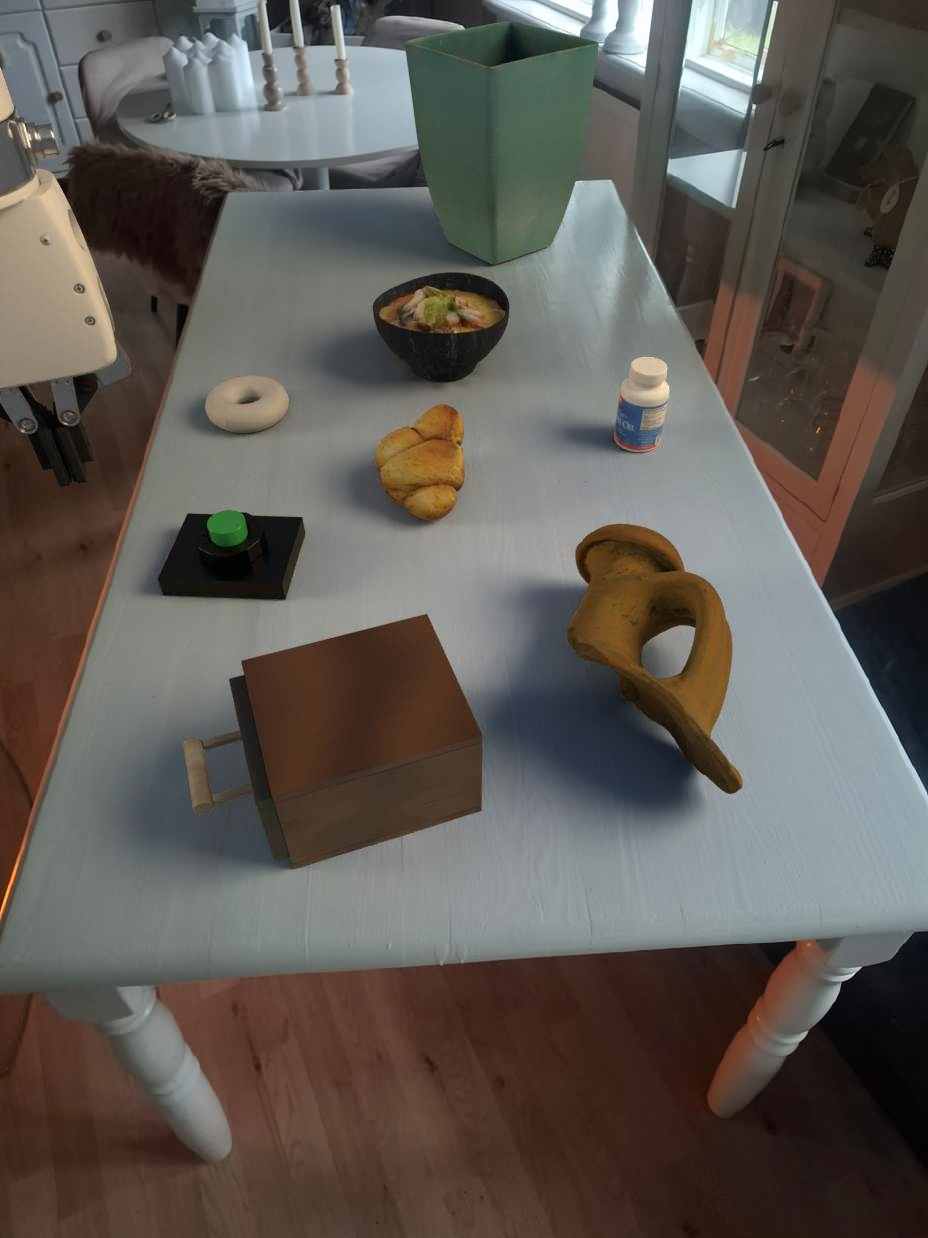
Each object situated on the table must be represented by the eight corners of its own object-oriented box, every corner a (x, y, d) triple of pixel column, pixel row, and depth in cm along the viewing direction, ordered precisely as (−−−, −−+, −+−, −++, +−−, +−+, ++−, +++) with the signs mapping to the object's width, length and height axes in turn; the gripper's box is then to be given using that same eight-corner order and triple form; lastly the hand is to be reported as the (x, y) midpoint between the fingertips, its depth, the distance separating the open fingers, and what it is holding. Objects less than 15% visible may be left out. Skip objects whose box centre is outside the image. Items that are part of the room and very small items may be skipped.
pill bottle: (605, 433, 102) (614, 357, 95) (645, 424, 103) (657, 348, 96) (627, 458, 98) (638, 381, 91) (668, 448, 100) (683, 372, 93)
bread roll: (468, 528, 90) (468, 464, 84) (375, 532, 90) (368, 468, 84) (463, 457, 99) (462, 395, 93) (378, 460, 99) (372, 398, 93)
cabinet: (294, 869, 63) (271, 796, 56) (263, 738, 71) (240, 660, 64) (482, 810, 66) (482, 735, 59) (431, 691, 74) (427, 613, 68)
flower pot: (412, 240, 142) (401, 38, 122) (505, 211, 150) (510, 17, 130) (487, 282, 131) (489, 66, 111) (584, 248, 139) (602, 42, 119)
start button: (206, 546, 83) (202, 532, 81) (216, 523, 85) (212, 509, 84) (243, 548, 82) (239, 533, 81) (252, 524, 85) (248, 510, 84)
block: (162, 595, 83) (151, 564, 80) (192, 529, 90) (183, 498, 87) (285, 600, 83) (278, 569, 80) (305, 533, 90) (300, 502, 87)
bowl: (529, 351, 116) (532, 278, 109) (471, 413, 105) (470, 336, 98) (418, 324, 121) (415, 253, 114) (353, 381, 111) (344, 306, 104)
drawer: (214, 880, 61) (188, 821, 56) (194, 755, 69) (169, 693, 63) (450, 807, 65) (448, 745, 60) (407, 697, 73) (401, 633, 67)
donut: (297, 395, 109) (219, 393, 109) (294, 370, 106) (213, 368, 107) (282, 440, 102) (198, 437, 102) (278, 414, 99) (192, 412, 100)
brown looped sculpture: (472, 697, 64) (558, 491, 76) (525, 783, 73) (594, 588, 85) (724, 726, 55) (778, 487, 67) (749, 820, 64) (793, 596, 76)
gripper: (103, 122, 46) (185, 419, 59) (-211, 156, 43) (-50, 463, 56) (111, 167, 41) (199, 481, 54) (-243, 210, 38) (-58, 534, 51)
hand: (73, 471), depth 55 cm, fingers closed
